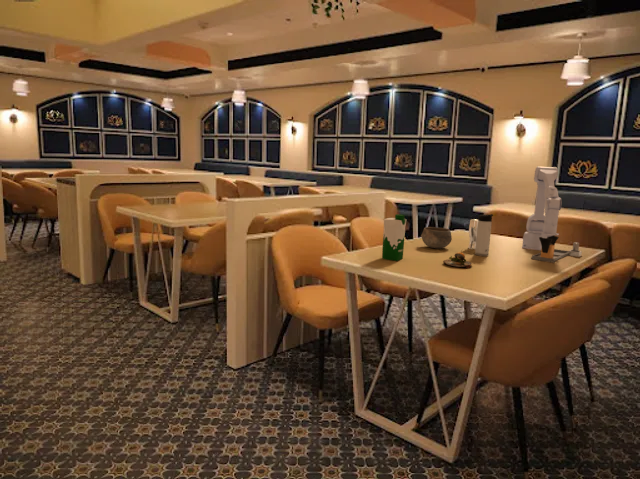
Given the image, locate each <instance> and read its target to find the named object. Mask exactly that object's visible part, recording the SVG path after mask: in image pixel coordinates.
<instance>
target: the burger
mask: <svg viewBox="0 0 640 479" xmlns="http://www.w3.org/2000/svg"><path fill="white" fill-rule="evenodd" d="M442 262H443V264H446V265H448V266H453V267H458V268H459V267H460V268H463V267H465V268H466V270H467V269H470V268H473V266H472V262H470V261H467V259H466V255H465V254H464V253H463V250H461V251H459V252H455V253H454V256H453V257H452V255H450V256H449V258H448V259H444V260H443V261H442Z"/></svg>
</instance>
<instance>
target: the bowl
mask: <svg viewBox="0 0 640 479" xmlns="http://www.w3.org/2000/svg"><path fill="white" fill-rule="evenodd" d="M420 237H421V240H422V242H423V243H424V245H425V246H426V247H428V248H431V249H439V250H440V249H444V248H446V247H447V246H448V245H450V243H451V242H452V241H453V239H452V238H453V236H452V232H451V230H450V229H449V228H446V227H437V226H436V227H435V226H426V227H424V228H423V230H422V232H421V234H420Z"/></svg>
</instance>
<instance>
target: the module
mask: <svg viewBox="0 0 640 479" xmlns="http://www.w3.org/2000/svg"><path fill="white" fill-rule="evenodd" d="M555 245H556V244H555ZM555 245H552V244H550V246H549V250H548V252H547V253H543V252H542V248H541V250H540V252H541V257H544V258H553V256H554V249H555V247H556V246H555Z"/></svg>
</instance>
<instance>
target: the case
mask: <svg viewBox="0 0 640 479" xmlns="http://www.w3.org/2000/svg"><path fill="white" fill-rule="evenodd" d="M539 253H541V251H540V252H539ZM568 253H569V250H564V249H563V250H562V249H557V248H556V249H555V248H554V256H562V257H561V259H563V258H566V257H567V256H569V255H568Z"/></svg>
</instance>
